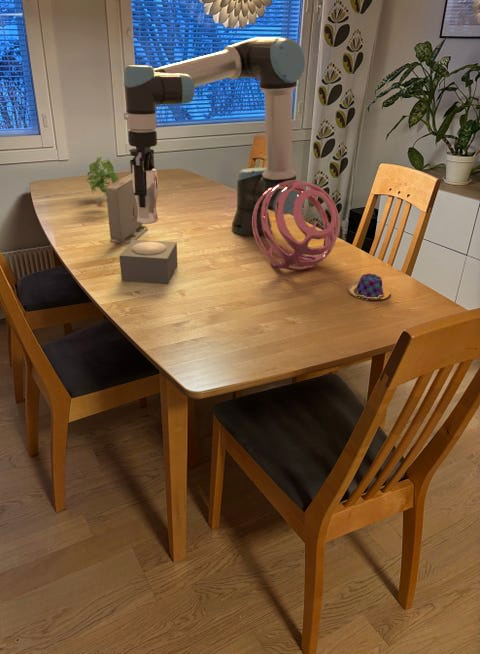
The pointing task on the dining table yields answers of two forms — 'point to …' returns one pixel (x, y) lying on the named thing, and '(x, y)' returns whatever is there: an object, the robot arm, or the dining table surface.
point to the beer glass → (149, 196)
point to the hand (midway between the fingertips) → (147, 214)
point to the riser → (149, 261)
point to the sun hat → (369, 286)
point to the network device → (123, 211)
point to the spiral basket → (310, 232)
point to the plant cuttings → (101, 176)
